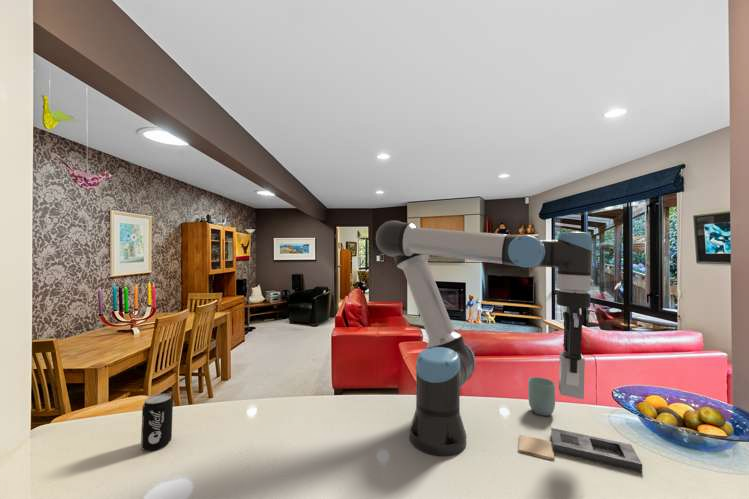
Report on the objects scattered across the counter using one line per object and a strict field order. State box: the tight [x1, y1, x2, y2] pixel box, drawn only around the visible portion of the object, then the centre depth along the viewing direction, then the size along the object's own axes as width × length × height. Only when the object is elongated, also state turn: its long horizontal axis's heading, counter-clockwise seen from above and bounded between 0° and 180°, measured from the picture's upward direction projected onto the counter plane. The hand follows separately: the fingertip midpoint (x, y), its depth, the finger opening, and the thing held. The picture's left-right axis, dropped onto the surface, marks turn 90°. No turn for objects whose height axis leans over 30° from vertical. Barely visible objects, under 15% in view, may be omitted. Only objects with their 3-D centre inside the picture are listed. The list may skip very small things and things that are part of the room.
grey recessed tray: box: [550, 427, 643, 474], centre depth 82 cm, size 18×9×2 cm, turn 64°
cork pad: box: [518, 434, 555, 462], centre depth 83 cm, size 8×8×1 cm
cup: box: [527, 376, 556, 416], centre depth 103 cm, size 8×8×10 cm
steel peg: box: [558, 350, 586, 400], centre depth 83 cm, size 5×5×10 cm
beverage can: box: [140, 393, 174, 452], centre depth 83 cm, size 7×7×12 cm
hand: (570, 380), depth 83 cm, fingers closed on steel peg, 5 cm apart
